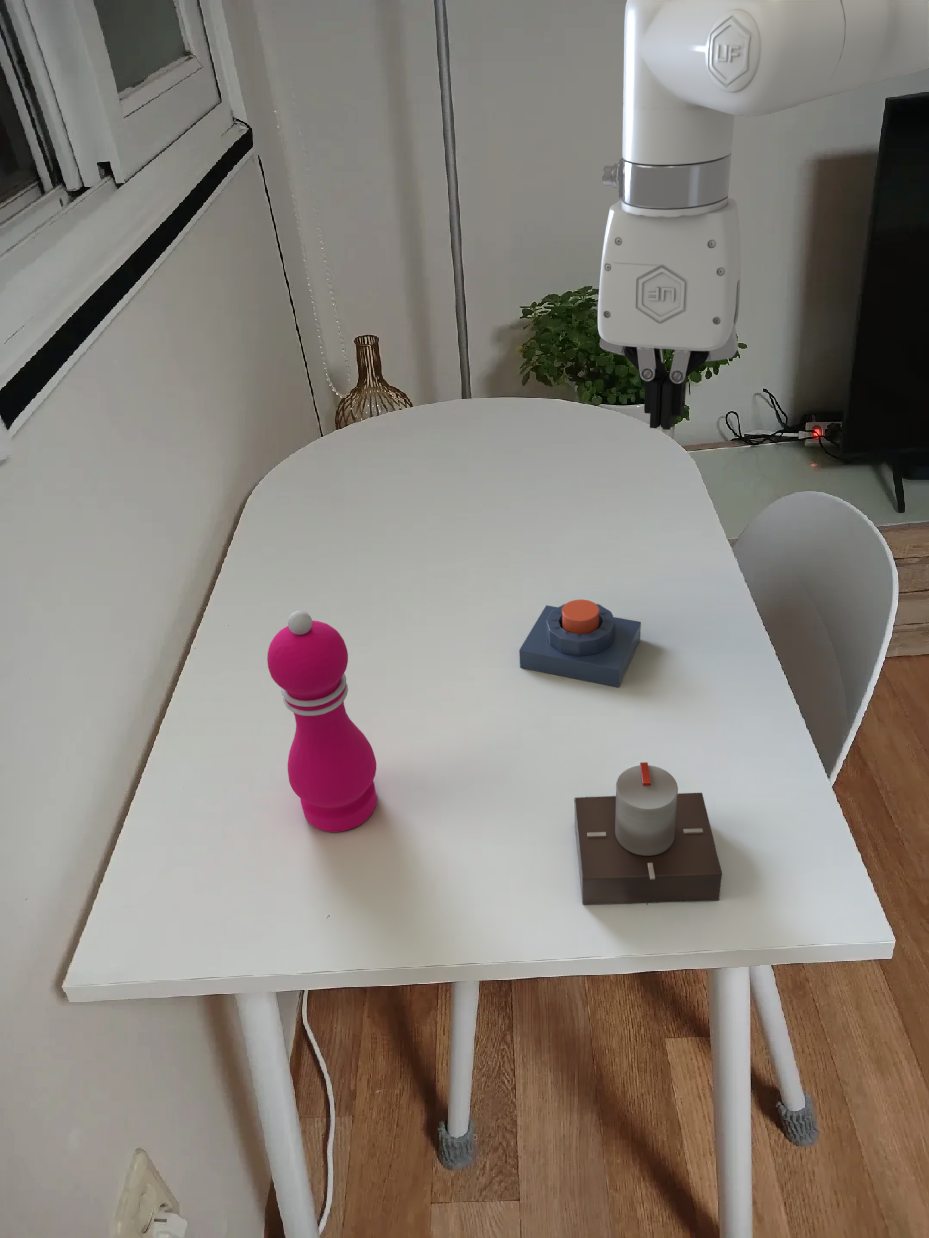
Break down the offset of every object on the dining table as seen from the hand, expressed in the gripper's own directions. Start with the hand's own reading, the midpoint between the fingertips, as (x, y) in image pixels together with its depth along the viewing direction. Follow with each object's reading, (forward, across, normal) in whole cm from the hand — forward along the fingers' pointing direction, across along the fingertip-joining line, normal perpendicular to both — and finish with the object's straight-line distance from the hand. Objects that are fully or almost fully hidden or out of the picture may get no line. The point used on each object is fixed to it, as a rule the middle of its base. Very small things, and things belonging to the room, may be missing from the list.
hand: (663, 422), depth 79 cm
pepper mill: (+25, -20, -27) cm, 42 cm away
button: (+21, -7, -1) cm, 23 cm away
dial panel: (+25, +5, -24) cm, 35 cm away
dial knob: (+22, +5, -24) cm, 33 cm away
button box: (+25, -7, -1) cm, 26 cm away
